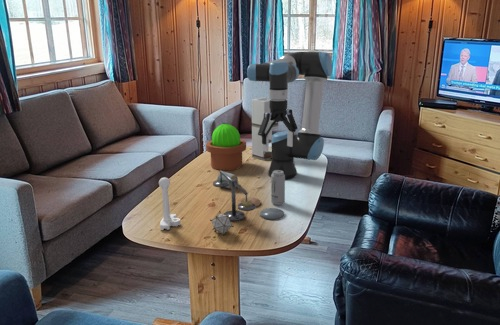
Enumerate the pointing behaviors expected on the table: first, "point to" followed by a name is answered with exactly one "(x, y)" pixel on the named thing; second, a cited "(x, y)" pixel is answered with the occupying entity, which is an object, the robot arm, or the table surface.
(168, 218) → the white mechanical bracket
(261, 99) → the stacked white blocks
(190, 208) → the table surface
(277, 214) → the grey round disc
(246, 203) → the balance
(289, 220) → the table surface
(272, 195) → the energy drink can
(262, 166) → the table surface
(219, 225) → the game die
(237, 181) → the ceramic mug
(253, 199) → the pink disc
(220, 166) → the potted cactus
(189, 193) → the table surface
